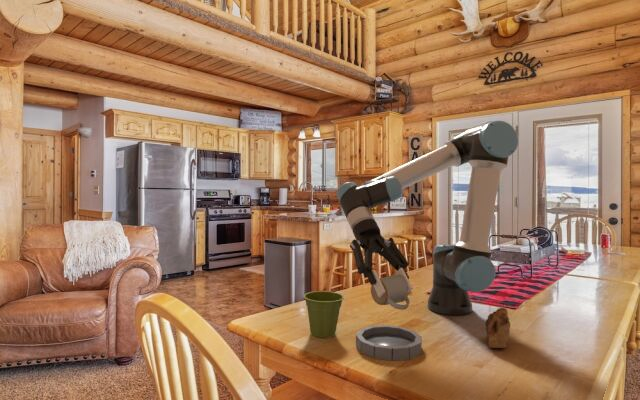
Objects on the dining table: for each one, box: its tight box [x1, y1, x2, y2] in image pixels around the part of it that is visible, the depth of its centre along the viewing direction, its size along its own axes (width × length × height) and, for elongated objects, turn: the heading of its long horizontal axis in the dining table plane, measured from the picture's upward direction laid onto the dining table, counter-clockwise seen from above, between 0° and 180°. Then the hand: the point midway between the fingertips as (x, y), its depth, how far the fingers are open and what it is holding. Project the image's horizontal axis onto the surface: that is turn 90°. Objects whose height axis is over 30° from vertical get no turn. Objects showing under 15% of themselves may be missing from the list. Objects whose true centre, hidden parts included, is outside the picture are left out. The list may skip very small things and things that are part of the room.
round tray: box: [355, 324, 423, 362], centre depth 108 cm, size 17×17×3 cm
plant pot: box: [303, 290, 345, 339], centre depth 117 cm, size 12×12×11 cm
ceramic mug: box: [370, 274, 410, 311], centre depth 106 cm, size 10×8×7 cm
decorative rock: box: [484, 307, 512, 349], centre depth 110 cm, size 12×6×11 cm, turn 159°
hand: (396, 292), depth 105 cm, fingers closed on ceramic mug, 8 cm apart
